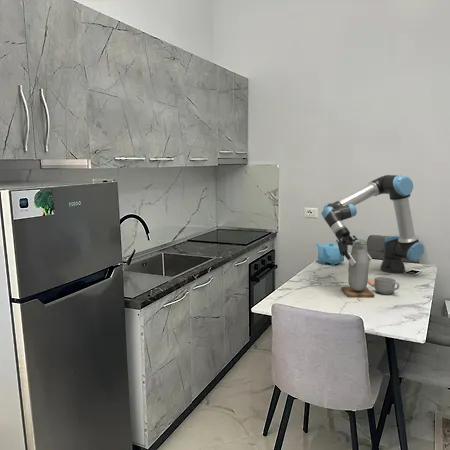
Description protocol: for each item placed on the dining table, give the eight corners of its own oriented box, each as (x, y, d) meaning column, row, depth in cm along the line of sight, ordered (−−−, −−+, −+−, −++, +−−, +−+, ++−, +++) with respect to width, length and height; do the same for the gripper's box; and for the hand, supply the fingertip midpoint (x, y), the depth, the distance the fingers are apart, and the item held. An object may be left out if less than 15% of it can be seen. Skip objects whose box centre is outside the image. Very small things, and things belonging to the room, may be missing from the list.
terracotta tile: (385, 280, 248) (385, 279, 248) (393, 286, 236) (393, 285, 236) (365, 280, 248) (365, 279, 248) (371, 286, 237) (372, 284, 236)
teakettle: (347, 266, 284) (348, 245, 282) (320, 266, 283) (321, 245, 281) (339, 260, 302) (340, 240, 300) (313, 260, 302) (314, 240, 300)
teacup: (369, 291, 228) (370, 277, 227) (384, 288, 233) (385, 274, 232) (388, 298, 216) (389, 283, 215) (404, 295, 220) (404, 281, 219)
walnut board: (366, 289, 231) (366, 287, 231) (374, 297, 217) (374, 294, 217) (341, 289, 231) (341, 286, 231) (347, 297, 217) (347, 294, 217)
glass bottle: (365, 294, 217) (368, 241, 214) (345, 291, 222) (348, 239, 219) (369, 289, 226) (371, 239, 223) (350, 287, 231) (352, 237, 228)
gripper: (350, 232, 239) (371, 262, 229) (321, 237, 225) (342, 269, 215) (358, 224, 234) (380, 255, 224) (329, 228, 220) (351, 261, 210)
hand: (362, 262), depth 220 cm, fingers open, 13 cm apart
